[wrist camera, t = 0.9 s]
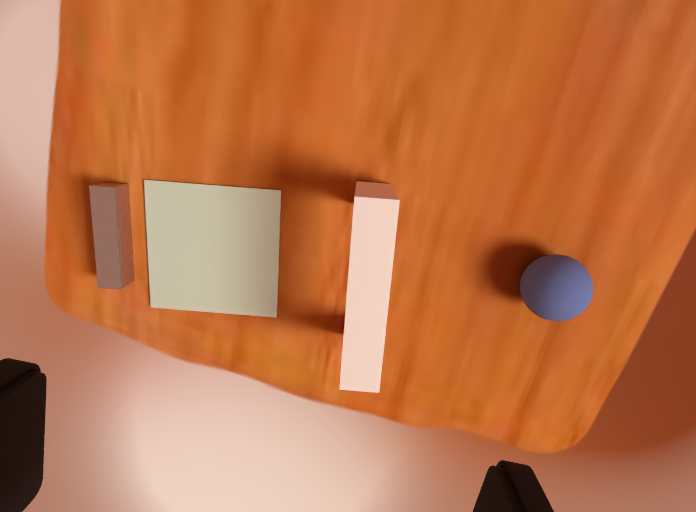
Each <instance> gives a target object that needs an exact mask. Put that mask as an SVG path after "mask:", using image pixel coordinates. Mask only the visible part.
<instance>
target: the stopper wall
mask: <svg viewBox="0 0 696 512" xmlns="http://www.w3.org/2000/svg"><path fill="white" fill-rule="evenodd" d="M89 191H90V203H91V214H92V226H93V237H94V249H95V260H96V272H97V283H98V288H106V289H119V290H121V289H122V288H124V287H125V286H127V285H128V284H130V283H131V282H133V281H134V266H133V250H132V234H131V218H130V202H129V185H128V184H122V183H109V182H105V183H100V184H95V185H90V186H89Z"/></svg>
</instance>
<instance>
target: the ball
mask: <svg viewBox="0 0 696 512" xmlns="http://www.w3.org/2000/svg"><path fill="white" fill-rule="evenodd" d="M520 292H521V296H522V299H523V301H524V303H525V304H526V306H527V307H528V308H529V309H530V310H531V311H532V312H533V313H534V314H536V315H537V316H539V317H541V318H544V319H547V320H551V321H565V320H569V319H572V318H574V317H576V316H578V315H579V314H581V313H582V312H583V311H584V310H585V309H586V308H587V307H588V305H589V303H590V301H591V299H592V296H593V282H592V279H591V276H590V274H589V272H588V271H587V269H586V268H585V267H584V266H583V265H582V264H581V263H579V262H578V261H577V260H575V259H573V258H570V257H568V256H564V255H547V256H543V257H540V258H538V259H536V260H535V261H533V262H532V263H531V264H530V265H529V266H528V267H527V268H526V270H525V271H524V273H523V275H522V277H521V281H520Z"/></svg>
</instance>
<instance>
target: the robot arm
mask: <svg viewBox="0 0 696 512" xmlns="http://www.w3.org/2000/svg"><path fill="white" fill-rule="evenodd" d="M45 406H46V376H45V374H43V373H41V372H40V368H39V366H38V365H37V364H34V363H29V362H25V361H20V360H15V359H10V358H6V359H3V360H1V361H0V512H22V511H23V510H24V509H25V508H26V507H27V506H28V505H29V504H30V502H31V501H32V500H33V499H34V498H35V496H36V495H37V493H38V491H39V489H40V487H41V484H42V479H43V460H44V434H45ZM473 512H554V511H553V509H552V507H551V505H550V503H549V501H548V499H547V497H546V495H545V493H544V491H543V489H542V487H541V485H540V484H539V482H538V480H537V478H536V476H535V474H534V472H533V470H532V469H531V467H529V466H528V465H524V464H519V463H514V462H509V461H504V460H502V461H500V462H499V463H498V464H497V466H490V467H489V469H488V471H487V474H486V477H485V480H484V482H483V485H482V487H481V490H480V493H479V496H478V498H477V501H476V504H475V507H474V509H473Z"/></svg>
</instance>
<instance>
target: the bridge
mask: <svg viewBox="0 0 696 512" xmlns="http://www.w3.org/2000/svg"><path fill="white" fill-rule="evenodd" d="M399 202H400V200H399V198H398V196H397V194H396V192H395V190H394V189H393V187H392V185H391V184H387V183H374V182H361V181H356V188H355V196H354V209H353V222H352V235H351V248H350V261H349V273H348V286H347V299H346V312H345V325H344V337H343V350H342V363H341V376H340V390H352V391H364V392H376V393H379V390H380V380H381V371H382V361H383V352H384V343H385V333H386V324H387V314H388V305H389V296H390V286H391V277H392V267H393V258H394V249H395V239H396V230H397V221H398V211H399Z"/></svg>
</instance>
